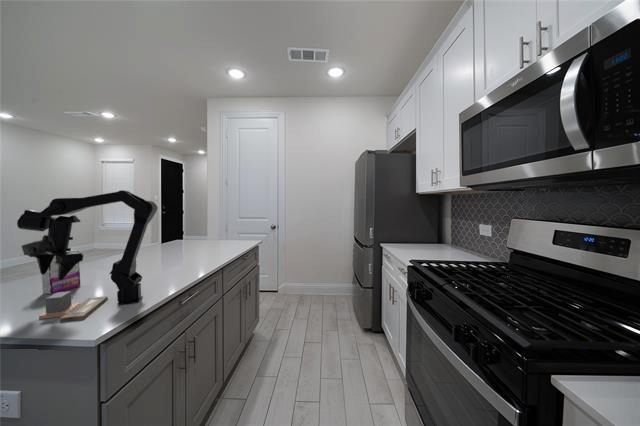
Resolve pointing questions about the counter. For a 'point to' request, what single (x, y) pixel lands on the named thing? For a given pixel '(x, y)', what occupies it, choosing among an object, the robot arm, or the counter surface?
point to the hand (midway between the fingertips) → (51, 276)
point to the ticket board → (84, 309)
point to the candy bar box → (55, 285)
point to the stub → (58, 305)
